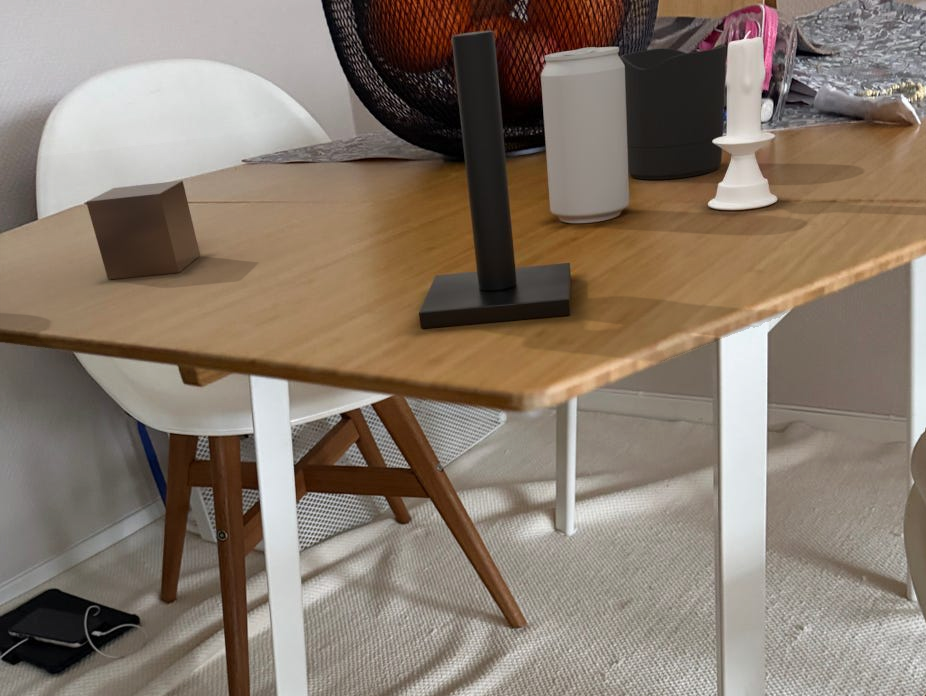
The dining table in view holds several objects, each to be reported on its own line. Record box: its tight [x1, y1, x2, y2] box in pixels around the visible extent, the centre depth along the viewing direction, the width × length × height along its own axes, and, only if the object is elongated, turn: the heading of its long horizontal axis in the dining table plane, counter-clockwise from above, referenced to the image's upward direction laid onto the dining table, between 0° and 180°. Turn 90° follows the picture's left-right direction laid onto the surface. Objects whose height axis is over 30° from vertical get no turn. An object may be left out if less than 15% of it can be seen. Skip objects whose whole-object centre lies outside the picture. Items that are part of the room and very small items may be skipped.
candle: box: [707, 30, 778, 211], centre depth 83 cm, size 5×5×12 cm
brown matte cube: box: [85, 180, 201, 281], centre depth 89 cm, size 6×6×6 cm
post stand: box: [418, 30, 572, 330], centre depth 65 cm, size 9×9×15 cm
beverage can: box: [540, 46, 630, 224], centre depth 86 cm, size 6×6×12 cm
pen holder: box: [618, 43, 728, 180], centre depth 99 cm, size 9×9×10 cm
